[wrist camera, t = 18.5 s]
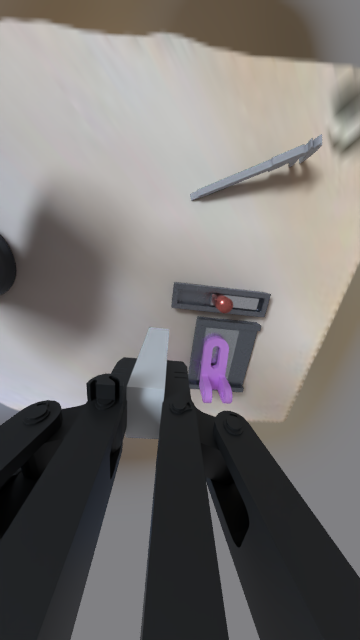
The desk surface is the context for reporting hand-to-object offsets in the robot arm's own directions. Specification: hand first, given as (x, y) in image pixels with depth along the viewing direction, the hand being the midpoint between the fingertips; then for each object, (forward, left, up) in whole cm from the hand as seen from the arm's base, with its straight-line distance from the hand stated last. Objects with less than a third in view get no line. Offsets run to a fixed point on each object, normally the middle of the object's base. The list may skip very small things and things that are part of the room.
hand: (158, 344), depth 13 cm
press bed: (+14, -14, -24) cm, 31 cm away
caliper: (+12, +22, -25) cm, 35 cm away
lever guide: (+11, 0, -24) cm, 27 cm away
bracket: (+12, -15, -23) cm, 30 cm away
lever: (+14, 0, -24) cm, 27 cm away
